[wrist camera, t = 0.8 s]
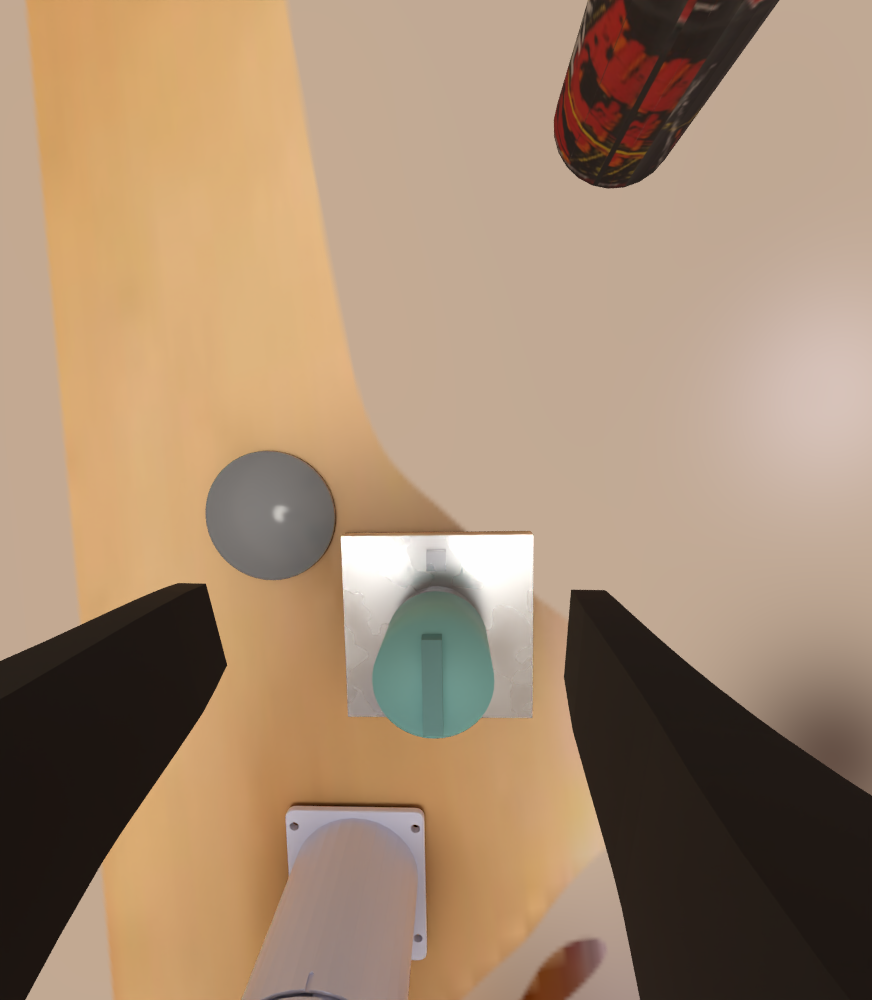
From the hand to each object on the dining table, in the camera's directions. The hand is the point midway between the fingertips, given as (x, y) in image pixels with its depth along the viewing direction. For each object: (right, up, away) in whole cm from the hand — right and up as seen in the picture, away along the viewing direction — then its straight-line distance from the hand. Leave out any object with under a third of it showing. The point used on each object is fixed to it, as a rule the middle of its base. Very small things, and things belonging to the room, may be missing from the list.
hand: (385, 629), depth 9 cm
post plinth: (+1, -4, +16) cm, 17 cm away
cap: (+1, -4, +13) cm, 14 cm away
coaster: (-8, +2, +16) cm, 18 cm away
